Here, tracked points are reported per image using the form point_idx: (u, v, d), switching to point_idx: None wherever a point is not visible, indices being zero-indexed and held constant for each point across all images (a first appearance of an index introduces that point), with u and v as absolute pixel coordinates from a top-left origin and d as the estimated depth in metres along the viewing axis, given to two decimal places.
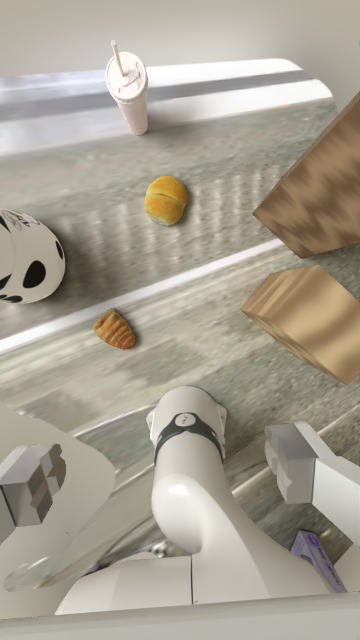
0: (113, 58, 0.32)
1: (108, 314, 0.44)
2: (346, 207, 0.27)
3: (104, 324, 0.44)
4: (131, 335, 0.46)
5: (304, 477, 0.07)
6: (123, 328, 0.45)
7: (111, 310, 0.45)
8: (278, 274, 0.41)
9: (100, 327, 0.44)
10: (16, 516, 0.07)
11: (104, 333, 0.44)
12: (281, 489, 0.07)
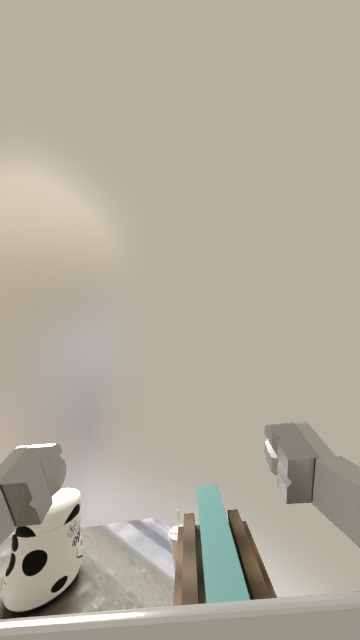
0: (182, 524, 0.57)
1: None
2: None
3: None
4: None
5: (304, 477, 0.07)
6: None
7: None
8: None
9: None
10: (16, 516, 0.07)
11: None
12: (281, 489, 0.07)
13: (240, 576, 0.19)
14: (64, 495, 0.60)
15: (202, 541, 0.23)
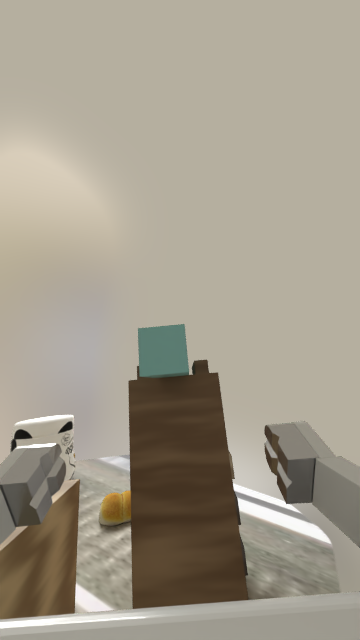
0: None
1: None
2: None
3: None
4: None
5: (304, 477, 0.07)
6: None
7: None
8: None
9: None
10: (16, 516, 0.07)
11: None
12: (281, 489, 0.07)
13: None
14: (59, 417, 0.66)
15: None
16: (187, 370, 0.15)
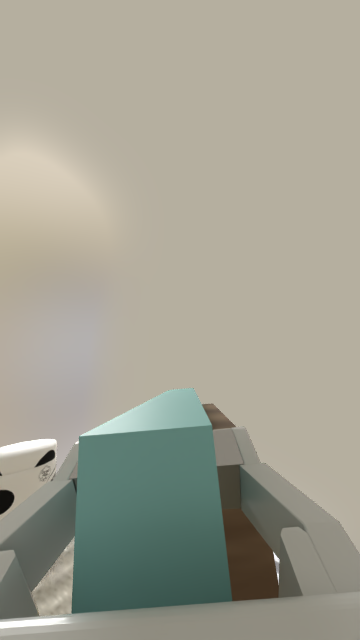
0: None
1: None
2: None
3: None
4: None
5: (231, 483, 0.07)
6: None
7: None
8: None
9: None
10: None
11: None
12: None
13: (193, 397, 0.14)
14: (39, 443, 0.56)
15: (158, 396, 0.19)
16: (227, 597, 0.05)
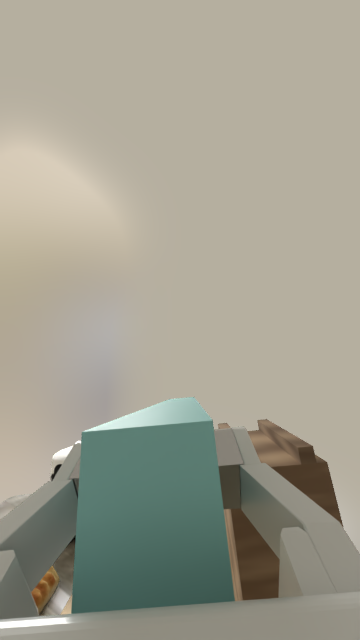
0: None
1: (52, 571, 0.40)
2: (229, 530, 0.24)
3: None
4: None
5: (231, 483, 0.07)
6: (38, 593, 0.36)
7: (57, 576, 0.40)
8: None
9: None
10: None
11: None
12: None
13: (194, 403, 0.14)
14: None
15: (158, 403, 0.19)
16: (229, 595, 0.04)
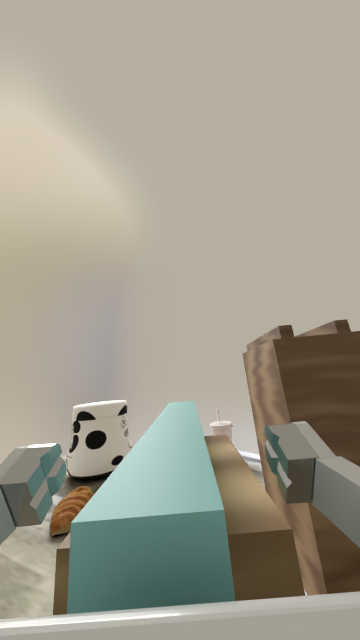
0: (221, 421, 0.63)
1: (90, 491, 0.42)
2: (268, 409, 0.28)
3: (78, 492, 0.42)
4: None
5: (304, 477, 0.07)
6: (83, 503, 0.38)
7: None
8: None
9: (73, 492, 0.42)
10: (16, 516, 0.07)
11: (68, 495, 0.40)
12: (281, 489, 0.07)
13: (196, 425, 0.14)
14: (112, 401, 0.67)
15: (158, 418, 0.18)
16: None
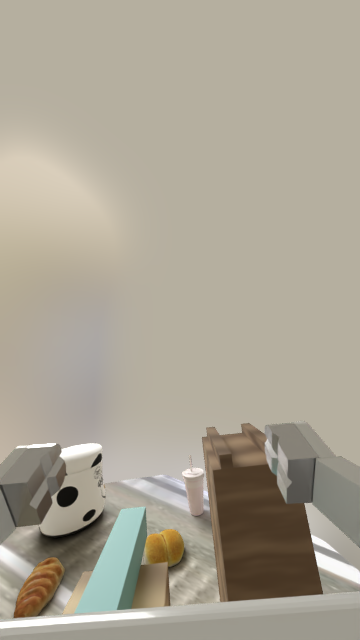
0: (194, 468, 0.65)
1: (58, 563, 0.43)
2: (215, 521, 0.29)
3: (46, 565, 0.42)
4: (41, 600, 0.37)
5: (304, 477, 0.07)
6: (49, 582, 0.39)
7: (62, 567, 0.43)
8: None
9: (40, 566, 0.42)
10: (16, 516, 0.07)
11: (35, 572, 0.41)
12: (281, 489, 0.07)
13: None
14: (87, 447, 0.67)
15: (84, 593, 0.19)
16: None
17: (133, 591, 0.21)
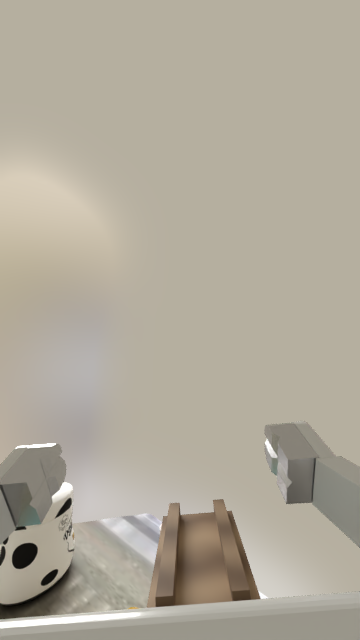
0: None
1: None
2: None
3: None
4: None
5: (304, 477, 0.07)
6: None
7: None
8: None
9: None
10: (16, 516, 0.07)
11: None
12: (281, 490, 0.07)
13: None
14: None
15: None
16: None
17: None
